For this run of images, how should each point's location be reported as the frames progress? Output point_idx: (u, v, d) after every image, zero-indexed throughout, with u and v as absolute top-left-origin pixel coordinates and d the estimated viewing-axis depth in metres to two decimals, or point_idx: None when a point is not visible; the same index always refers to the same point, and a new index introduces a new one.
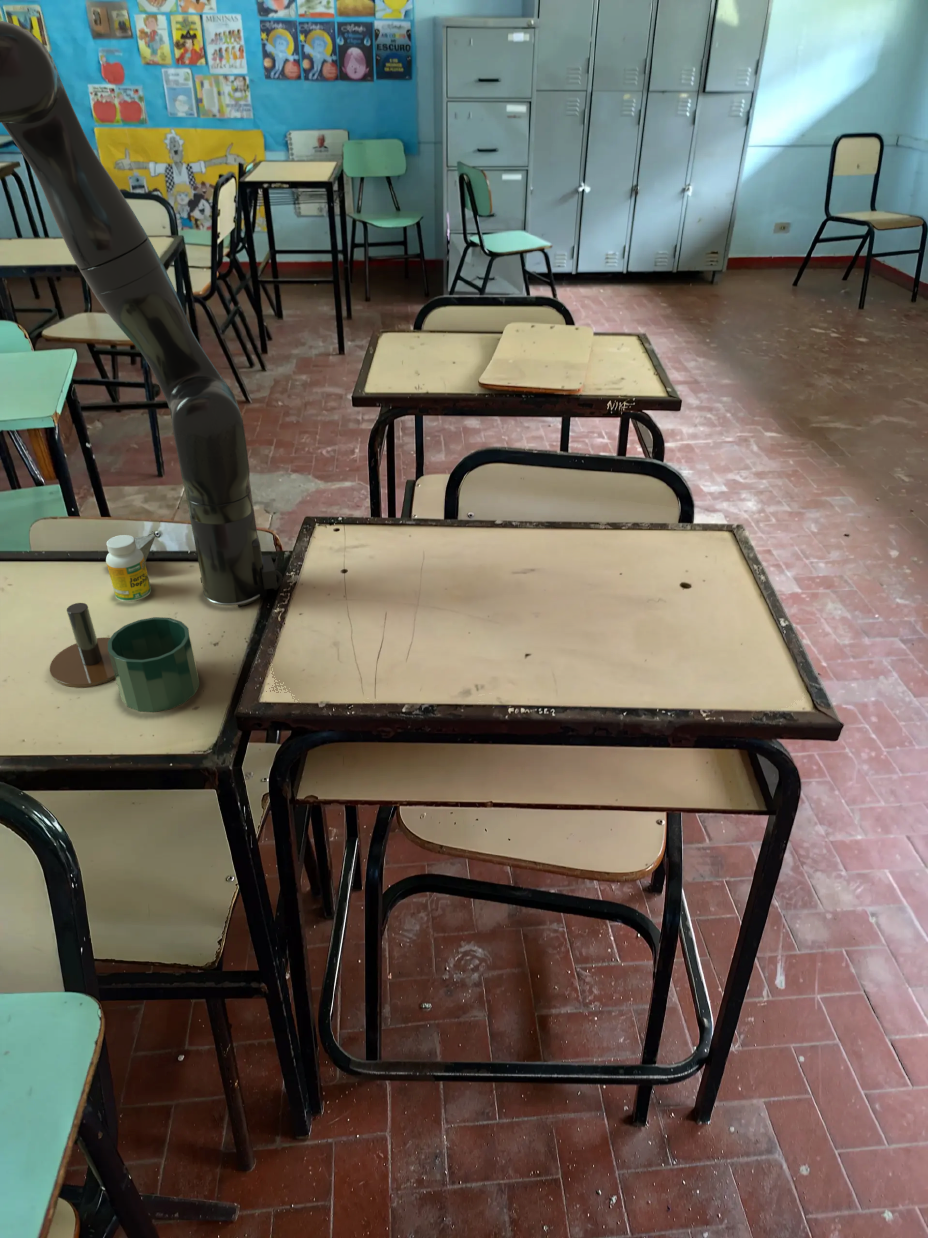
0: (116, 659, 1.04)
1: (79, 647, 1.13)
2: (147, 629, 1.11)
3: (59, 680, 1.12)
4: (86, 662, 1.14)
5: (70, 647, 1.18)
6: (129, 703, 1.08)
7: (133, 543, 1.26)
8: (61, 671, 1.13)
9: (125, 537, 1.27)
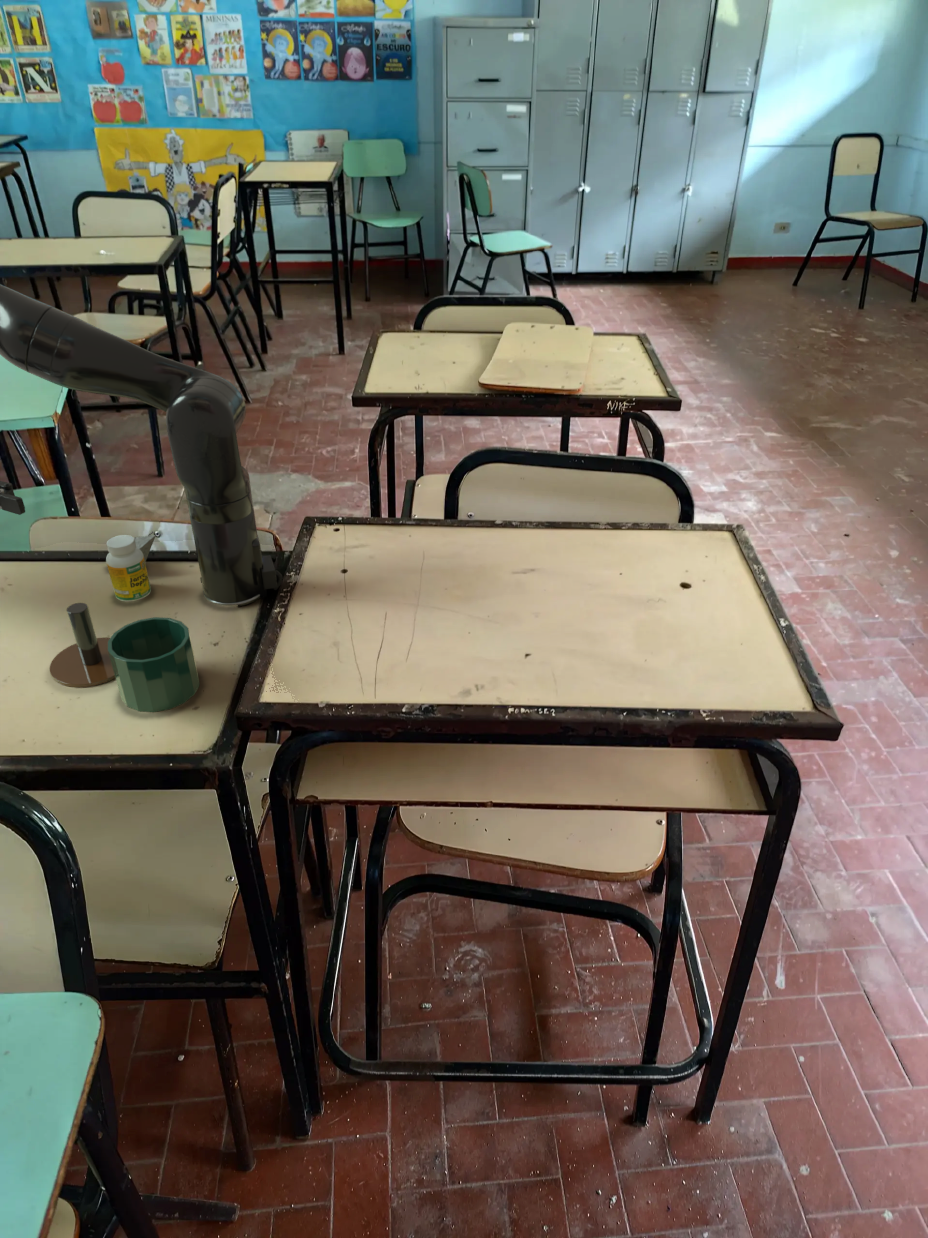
0: (116, 659, 1.04)
1: (79, 647, 1.13)
2: (147, 629, 1.11)
3: (59, 680, 1.12)
4: (86, 662, 1.14)
5: (70, 647, 1.18)
6: (129, 703, 1.08)
7: (133, 543, 1.26)
8: (61, 671, 1.13)
9: (125, 537, 1.27)
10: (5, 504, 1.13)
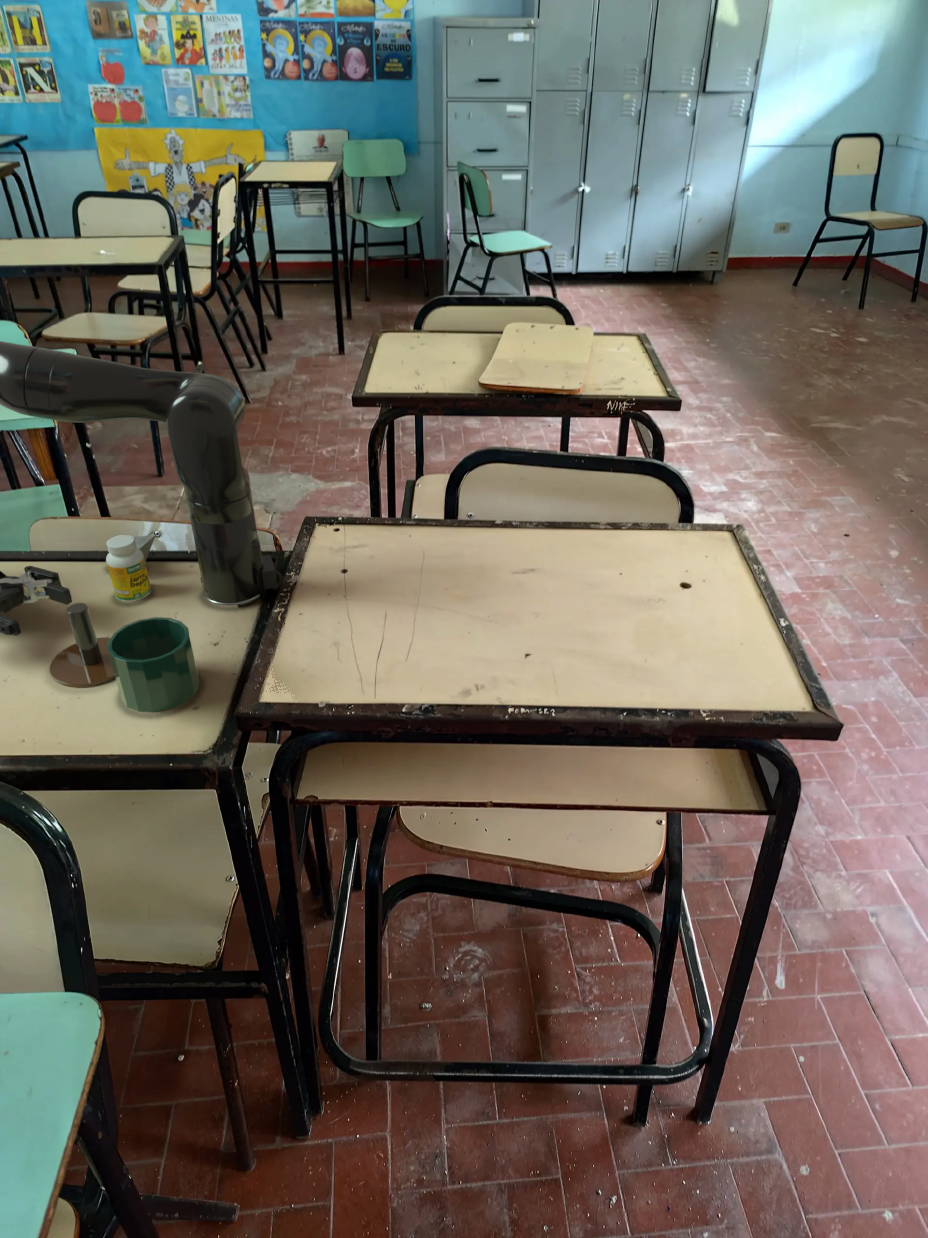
0: (116, 659, 1.04)
1: (79, 647, 1.13)
2: (147, 629, 1.11)
3: (59, 680, 1.12)
4: (86, 662, 1.14)
5: (70, 647, 1.18)
6: (129, 703, 1.08)
7: (133, 543, 1.26)
8: (61, 671, 1.13)
9: (125, 537, 1.27)
10: (53, 594, 1.19)
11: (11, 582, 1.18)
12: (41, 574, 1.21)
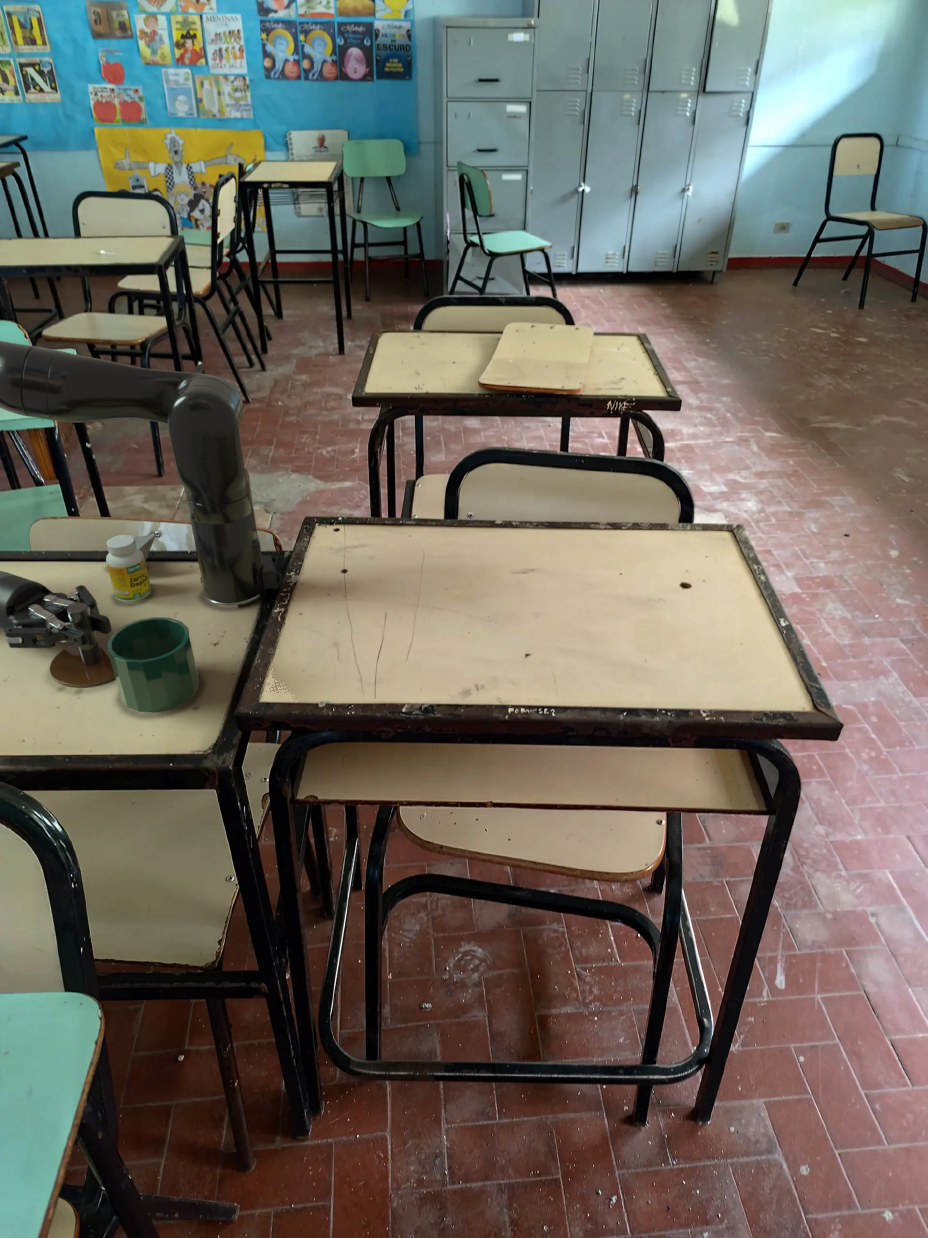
0: (116, 659, 1.04)
1: (79, 647, 1.13)
2: (147, 629, 1.11)
3: (59, 680, 1.12)
4: (86, 662, 1.14)
5: (70, 647, 1.18)
6: (129, 703, 1.08)
7: (133, 543, 1.26)
8: (61, 671, 1.13)
9: (125, 537, 1.27)
10: None
11: (54, 601, 1.15)
12: (83, 598, 1.17)
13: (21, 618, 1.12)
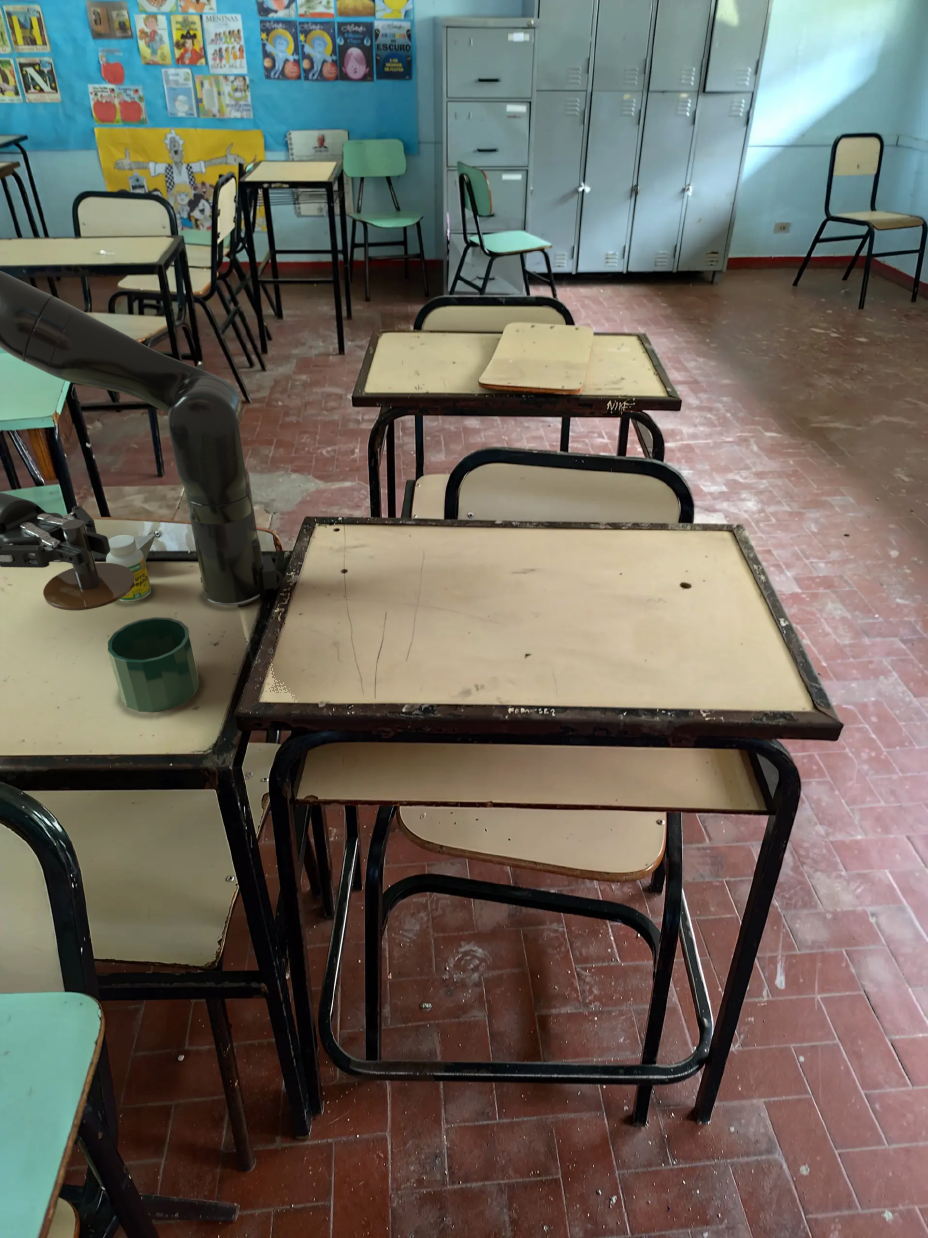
0: (116, 659, 1.04)
1: (75, 568, 1.04)
2: (147, 629, 1.11)
3: (54, 603, 1.03)
4: (83, 585, 1.06)
5: (66, 572, 1.09)
6: (129, 703, 1.08)
7: (133, 543, 1.26)
8: (55, 594, 1.05)
9: (125, 537, 1.27)
10: None
11: (48, 520, 1.06)
12: (80, 518, 1.08)
13: (12, 536, 1.04)
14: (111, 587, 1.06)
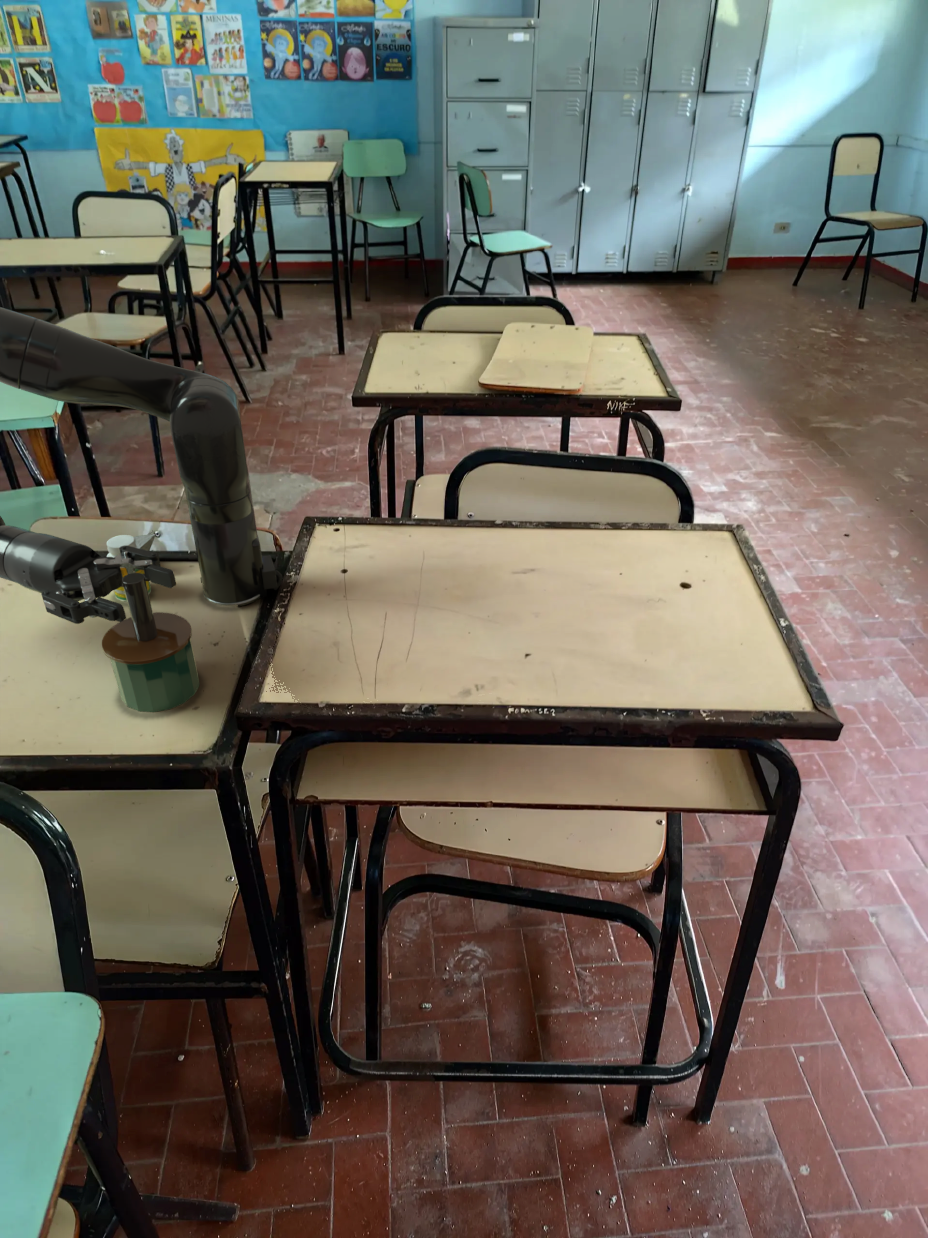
0: None
1: (134, 621, 1.04)
2: None
3: (113, 657, 1.03)
4: (141, 638, 1.06)
5: (122, 622, 1.09)
6: (129, 703, 1.08)
7: (133, 543, 1.26)
8: (114, 647, 1.05)
9: (125, 537, 1.27)
10: (154, 576, 1.07)
11: (108, 563, 1.06)
12: (139, 554, 1.09)
13: (68, 583, 1.03)
14: (169, 639, 1.06)
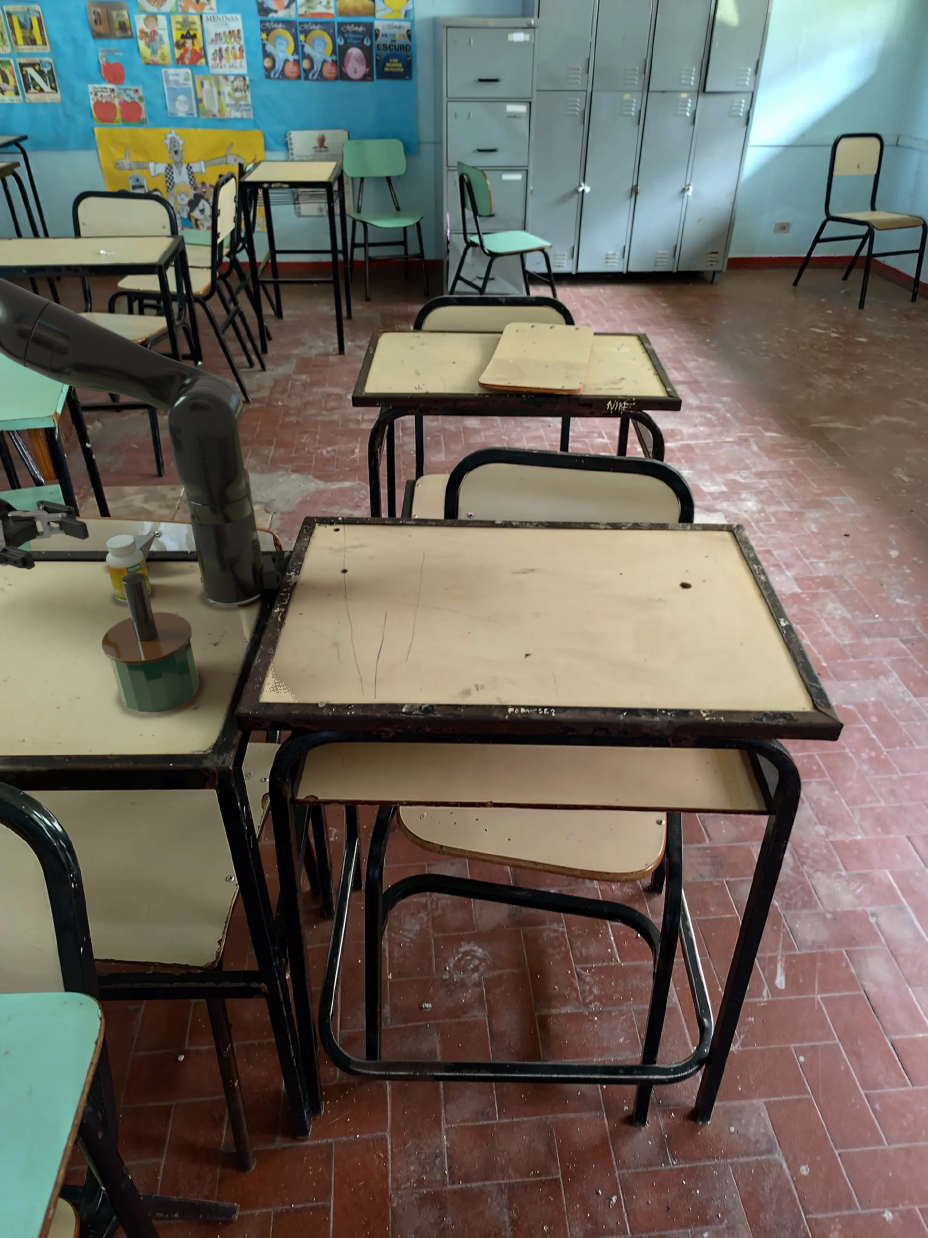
0: None
1: (134, 621, 1.04)
2: None
3: (113, 657, 1.03)
4: (141, 638, 1.06)
5: (122, 622, 1.09)
6: (129, 703, 1.08)
7: (133, 543, 1.26)
8: (114, 647, 1.05)
9: (125, 537, 1.27)
10: (68, 529, 1.10)
11: (23, 515, 1.09)
12: (55, 508, 1.12)
13: None
14: (169, 639, 1.06)
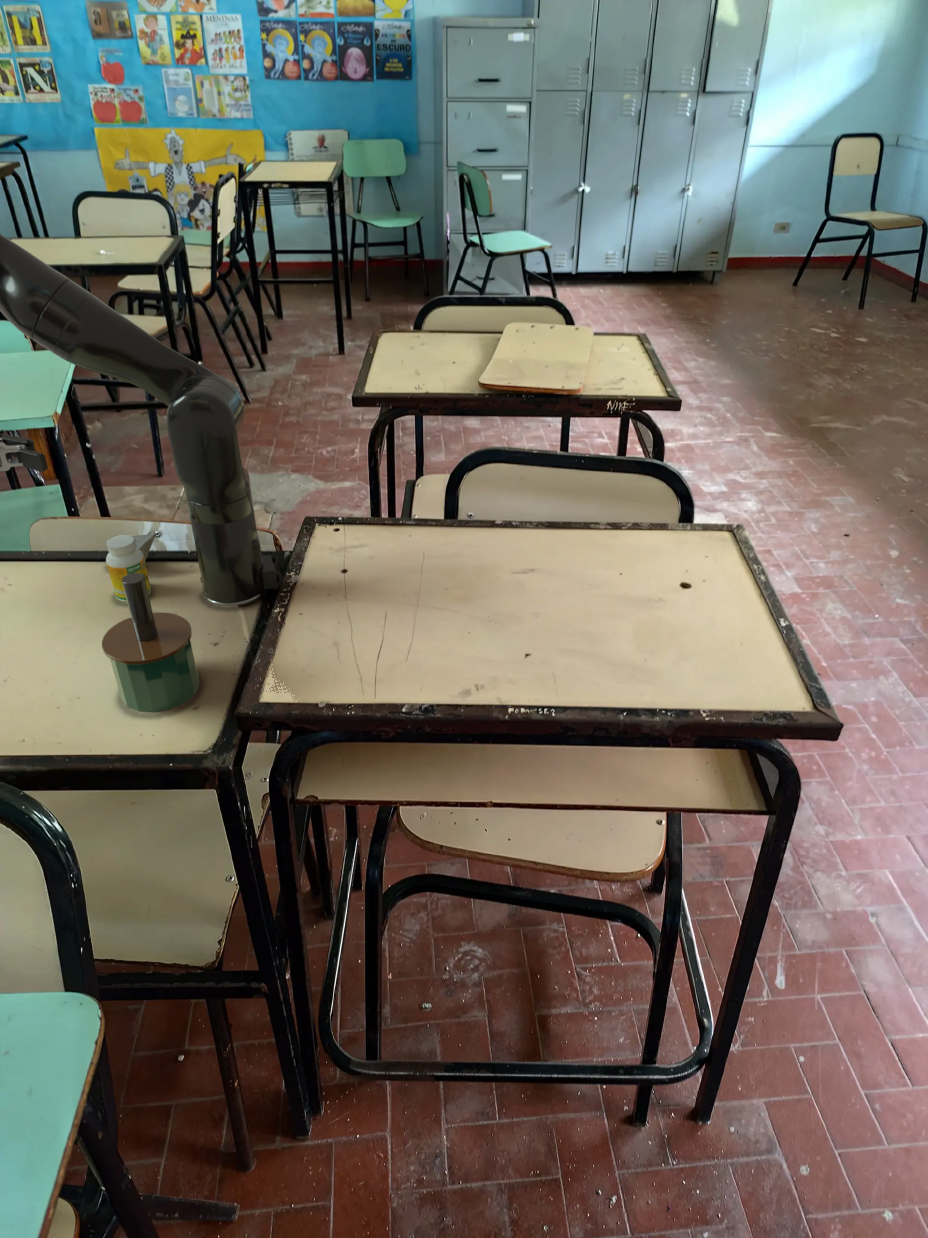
0: None
1: (134, 621, 1.04)
2: None
3: (113, 657, 1.03)
4: (141, 638, 1.06)
5: (122, 622, 1.09)
6: (129, 703, 1.08)
7: (133, 543, 1.26)
8: (114, 647, 1.05)
9: (125, 537, 1.27)
10: (26, 460, 1.08)
11: None
12: (14, 440, 1.10)
13: None
14: (169, 639, 1.06)
